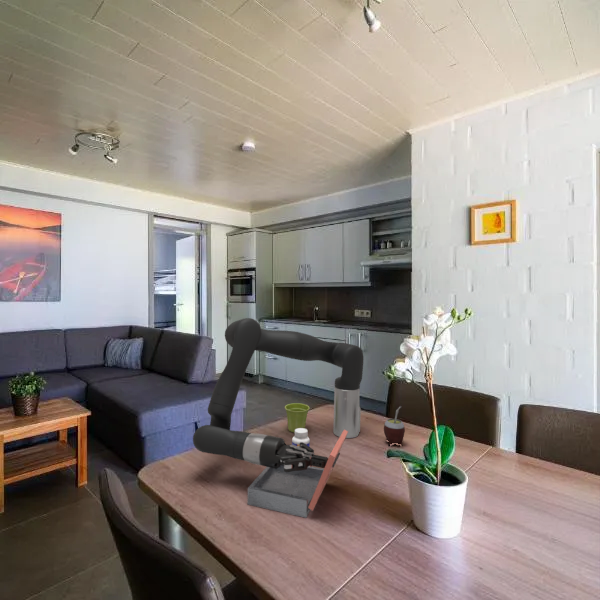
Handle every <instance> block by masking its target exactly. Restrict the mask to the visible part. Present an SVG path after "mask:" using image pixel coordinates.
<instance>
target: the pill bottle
mask: <svg viewBox="0 0 600 600" xmlns="http://www.w3.org/2000/svg"><path fill="white" fill-rule="evenodd" d="M308 431H309V430H308V429H307V428H305V429H304V428H297V429H295V433H294V432H293V433H294V436H293V437H292V439H291V445H295V446H300V442H303V443H305V444H306V445H307V446H309V447H310V445H311V444H310V442H311V439H310V438H309V436H308V435H309V434H308V433H309V432H308Z"/></svg>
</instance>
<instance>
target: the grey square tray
mask: <svg viewBox="0 0 600 600" xmlns="http://www.w3.org/2000/svg"><path fill="white" fill-rule="evenodd" d="M323 471H324V468H321V467H316V466H312V467H307V469H306V470H299V471H291V472H284V466H282V465H281V466H280V467H279V468H277V469H275V468H270V467H266V466H265V468H264V469H263V470H262V471H261V473H259V475H258V476H257V477H256V478H255V479H254V480H253V481H252V483H251V484H250V485H249V486H248V487H247V505H249V506H253V507H258V508H261V509H262V508H263V509H266V510H270V511H275V512H278V513H283V514H287V515H292V516H297V517H302V518H305V519H307V518H308V516H309V513H310V512H311V511H312V510H311V509H309V508H308V507H309V505H310V502H311V500H312V497H313V495H314V492H315V490H316V488H317V485H318V483H319V480H320V478H321V475H322V473H323Z"/></svg>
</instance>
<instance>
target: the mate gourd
mask: <svg viewBox="0 0 600 600" xmlns="http://www.w3.org/2000/svg"><path fill="white" fill-rule="evenodd" d="M401 408H402V406H401V405H400V406H399V407H397V409H396V410H395V416H394V418H388V419H386V420H385V422H384V426H383V433H384V436H385V440H388V441H389V443H388V445H390V444H392V443H398V444H403V440H404V436H405V432H406V431H405V430H406V428H405V424H404V422H403V421H402V420H400V419H397V418H398V414H399V412H400V411H399V410H400V409H401Z"/></svg>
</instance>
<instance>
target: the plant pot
mask: <svg viewBox="0 0 600 600" xmlns="http://www.w3.org/2000/svg"><path fill="white" fill-rule="evenodd" d="M284 409H285V412H286V419H287V428H288V431H289V432H291V433H295V429H297V428H304V429H306V423H307V417H308V413H309V410H310V409H311V408H310V406H309V405H308V404H305V403H299V402H298V403H297V402H295V403H288V404H286V405H285V406H284Z"/></svg>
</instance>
